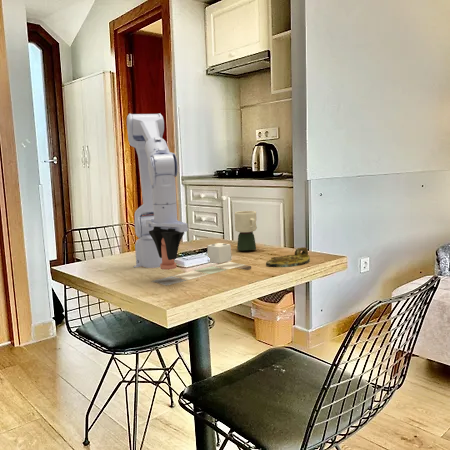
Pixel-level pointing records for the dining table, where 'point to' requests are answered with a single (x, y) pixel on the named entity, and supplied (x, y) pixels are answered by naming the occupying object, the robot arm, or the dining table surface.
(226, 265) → the board
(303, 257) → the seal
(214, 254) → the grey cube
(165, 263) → the dildo
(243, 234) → the character mug
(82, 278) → the dining table surface
